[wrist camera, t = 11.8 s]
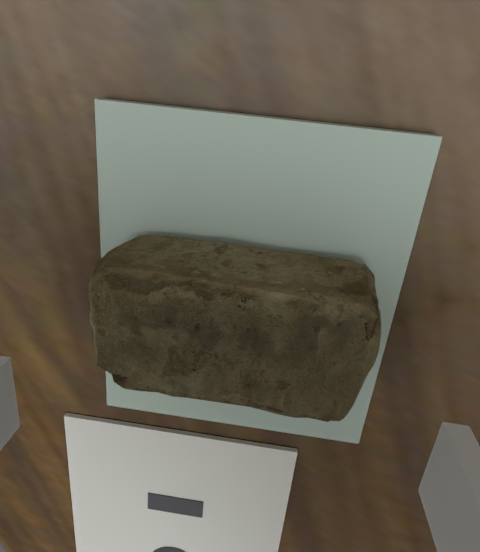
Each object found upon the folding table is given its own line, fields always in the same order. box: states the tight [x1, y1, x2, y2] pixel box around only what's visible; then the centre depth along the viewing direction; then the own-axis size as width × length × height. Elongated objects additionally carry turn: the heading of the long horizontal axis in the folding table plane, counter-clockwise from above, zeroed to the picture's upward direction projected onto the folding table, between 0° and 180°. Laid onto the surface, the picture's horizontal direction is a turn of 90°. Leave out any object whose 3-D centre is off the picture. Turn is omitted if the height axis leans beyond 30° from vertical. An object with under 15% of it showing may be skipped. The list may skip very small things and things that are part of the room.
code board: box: [64, 413, 298, 552], centre depth 30 cm, size 18×14×1 cm
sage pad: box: [95, 98, 442, 444], centre depth 21 cm, size 16×14×1 cm
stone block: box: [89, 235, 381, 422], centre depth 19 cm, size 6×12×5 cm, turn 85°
